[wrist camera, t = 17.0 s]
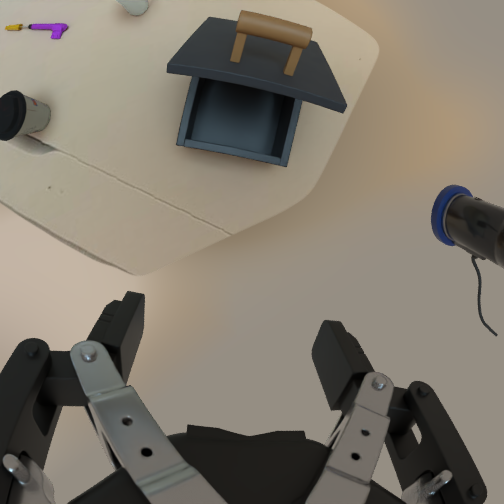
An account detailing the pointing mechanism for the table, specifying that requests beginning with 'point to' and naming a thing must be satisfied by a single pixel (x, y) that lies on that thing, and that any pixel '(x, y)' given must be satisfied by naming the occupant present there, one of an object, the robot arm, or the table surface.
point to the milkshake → (134, 6)
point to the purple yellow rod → (56, 28)
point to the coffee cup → (21, 115)
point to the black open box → (239, 121)
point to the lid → (260, 58)
